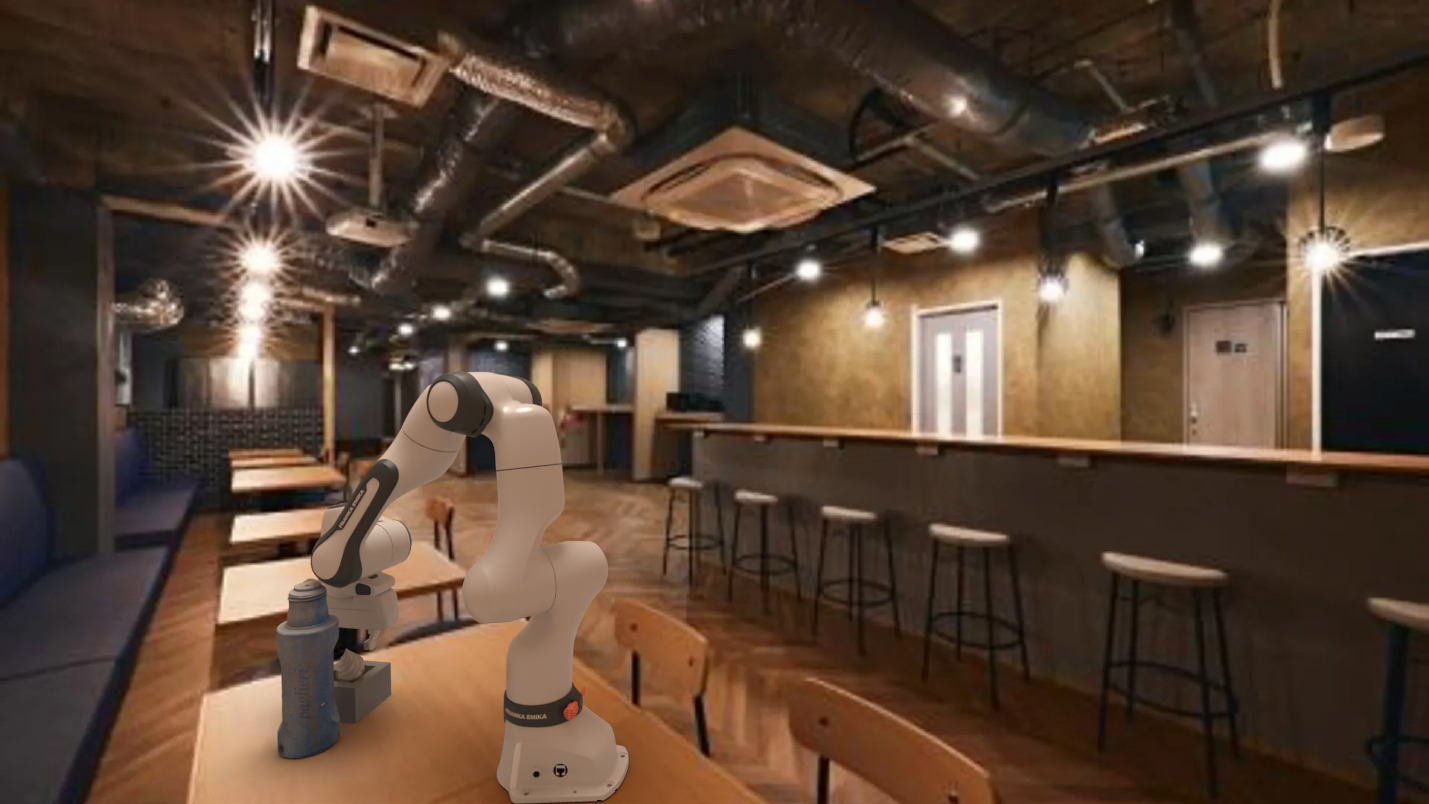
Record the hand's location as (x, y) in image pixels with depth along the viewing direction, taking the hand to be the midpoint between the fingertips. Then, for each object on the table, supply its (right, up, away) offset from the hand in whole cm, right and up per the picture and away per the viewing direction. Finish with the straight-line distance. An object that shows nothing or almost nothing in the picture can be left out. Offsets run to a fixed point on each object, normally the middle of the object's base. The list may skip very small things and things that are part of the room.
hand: (348, 647), depth 130 cm
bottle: (0, -13, -12) cm, 18 cm away
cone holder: (0, -12, +1) cm, 12 cm away
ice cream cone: (0, -11, +3) cm, 12 cm away
